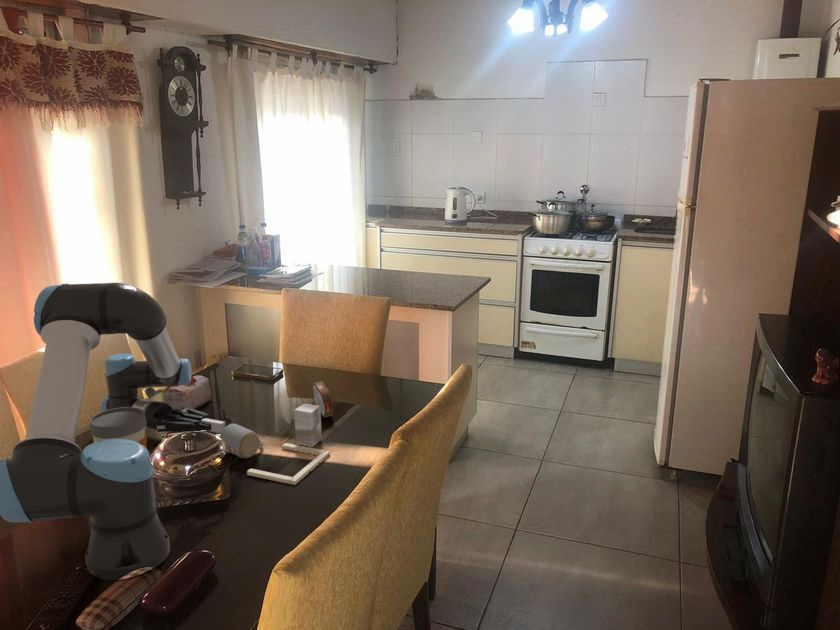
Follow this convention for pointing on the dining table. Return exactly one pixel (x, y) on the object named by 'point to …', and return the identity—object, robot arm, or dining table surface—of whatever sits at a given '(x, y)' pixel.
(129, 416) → the reusable coffee cup
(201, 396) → the food item
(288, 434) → the dining table surface
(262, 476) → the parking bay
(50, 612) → the dining table surface
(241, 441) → the ceramic mug
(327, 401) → the tin
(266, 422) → the dining table surface
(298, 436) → the grey block
